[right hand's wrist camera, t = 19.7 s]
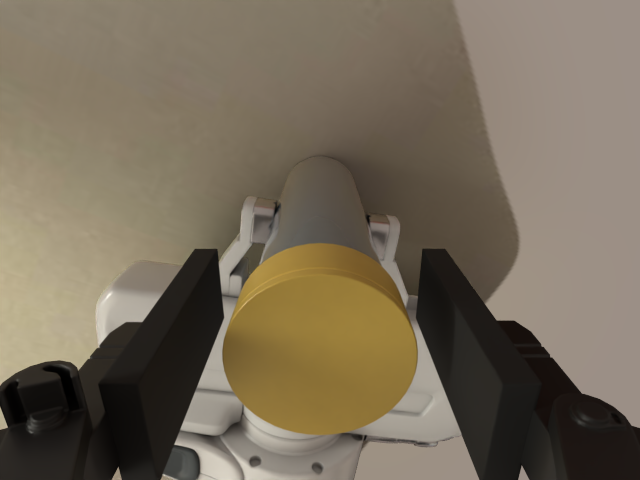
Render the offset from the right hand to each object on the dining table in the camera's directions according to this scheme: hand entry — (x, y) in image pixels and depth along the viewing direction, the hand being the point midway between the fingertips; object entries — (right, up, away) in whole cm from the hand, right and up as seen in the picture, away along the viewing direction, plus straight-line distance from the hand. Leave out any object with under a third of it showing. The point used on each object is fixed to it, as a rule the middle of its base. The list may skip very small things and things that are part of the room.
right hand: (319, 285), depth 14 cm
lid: (0, -1, -4) cm, 4 cm away
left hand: (0, +3, +5) cm, 6 cm away
